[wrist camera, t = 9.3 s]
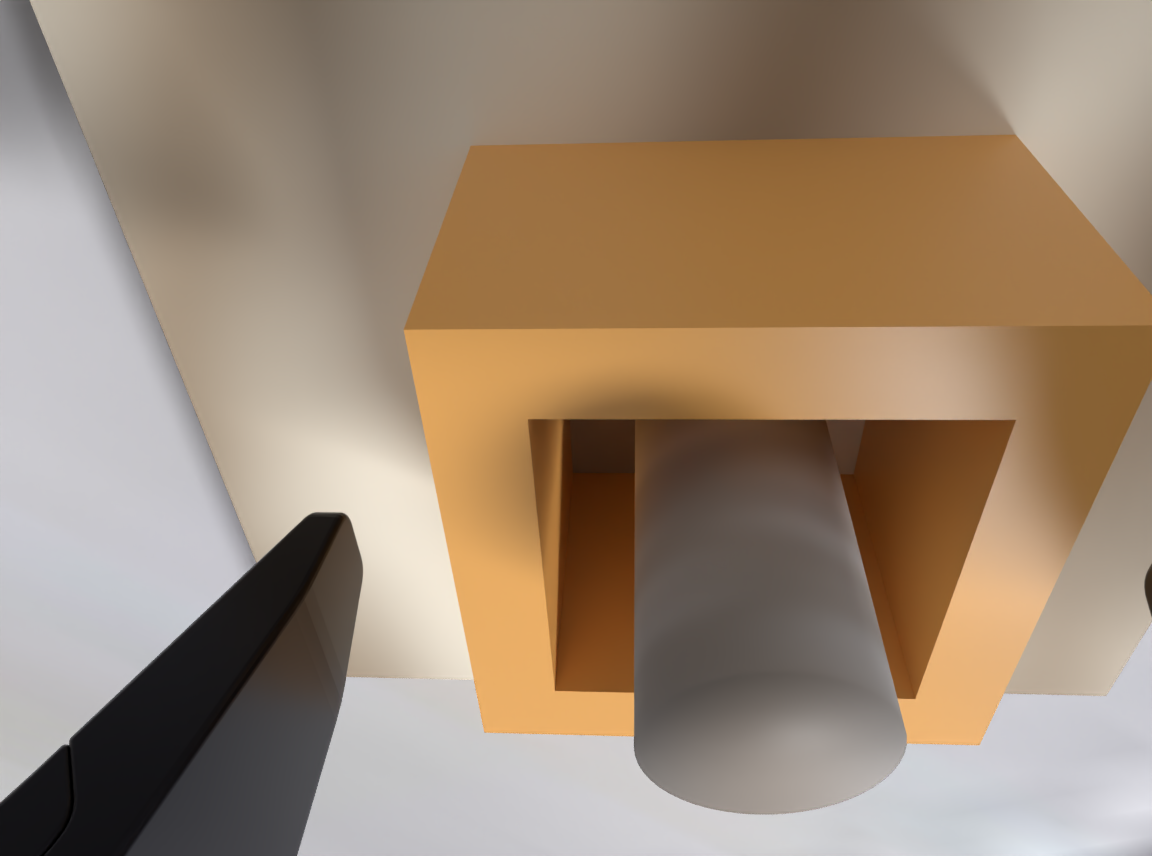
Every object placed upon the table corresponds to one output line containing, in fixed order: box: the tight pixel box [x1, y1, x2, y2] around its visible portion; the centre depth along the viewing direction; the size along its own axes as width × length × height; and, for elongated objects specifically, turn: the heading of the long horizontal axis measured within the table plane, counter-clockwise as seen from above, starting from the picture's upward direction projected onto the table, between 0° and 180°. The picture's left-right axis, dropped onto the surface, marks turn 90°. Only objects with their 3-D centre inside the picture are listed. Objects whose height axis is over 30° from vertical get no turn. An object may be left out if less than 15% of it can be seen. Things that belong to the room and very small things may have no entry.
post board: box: [30, 0, 1152, 814], centre depth 11 cm, size 16×16×7 cm
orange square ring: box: [404, 135, 1152, 745], centre depth 11 cm, size 6×6×4 cm
